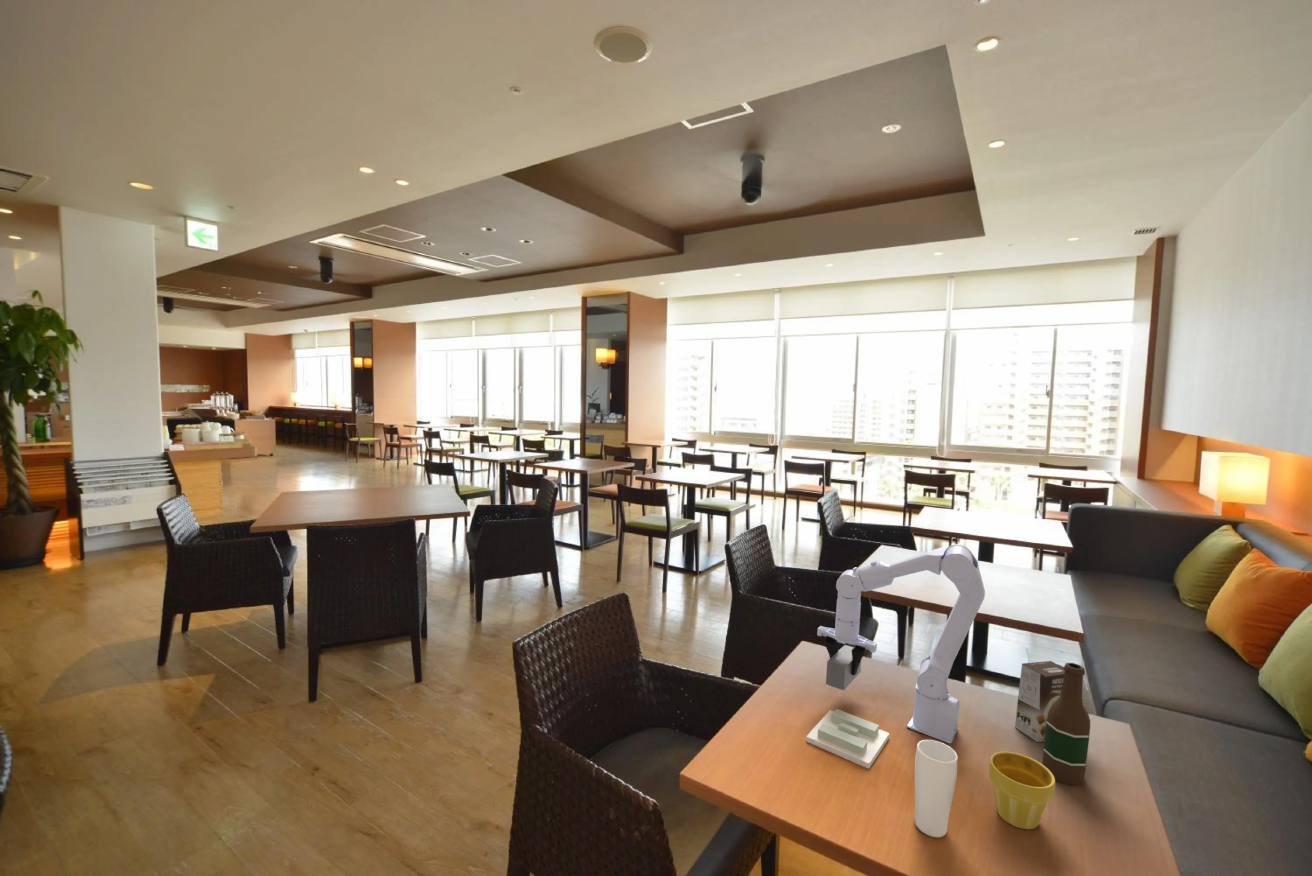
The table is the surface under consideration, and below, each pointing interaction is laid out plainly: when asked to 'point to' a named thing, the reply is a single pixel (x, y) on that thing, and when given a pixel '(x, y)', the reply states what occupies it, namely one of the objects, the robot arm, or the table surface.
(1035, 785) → the plant pot
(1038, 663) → the coffee box
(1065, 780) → the beer bottle
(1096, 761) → the table surface
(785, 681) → the table surface
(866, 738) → the stand
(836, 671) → the grey upright block
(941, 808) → the drinking glass
